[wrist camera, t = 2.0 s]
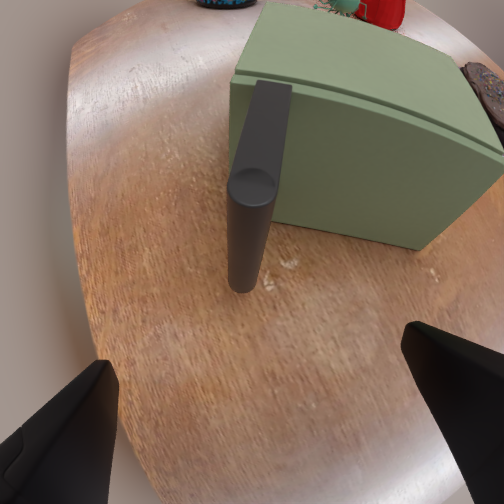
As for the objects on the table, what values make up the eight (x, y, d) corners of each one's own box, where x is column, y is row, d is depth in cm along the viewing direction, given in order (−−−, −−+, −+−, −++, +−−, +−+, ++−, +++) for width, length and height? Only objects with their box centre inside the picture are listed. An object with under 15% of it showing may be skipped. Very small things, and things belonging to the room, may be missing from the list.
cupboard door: (422, 331, 20) (545, 275, 9) (208, 301, 20) (182, 196, 9) (419, 242, 23) (509, 153, 12) (230, 205, 23) (233, 66, 12)
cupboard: (418, 240, 23) (505, 153, 12) (231, 203, 23) (234, 68, 12) (402, 142, 28) (450, 56, 17) (255, 107, 28) (266, 1, 17)
